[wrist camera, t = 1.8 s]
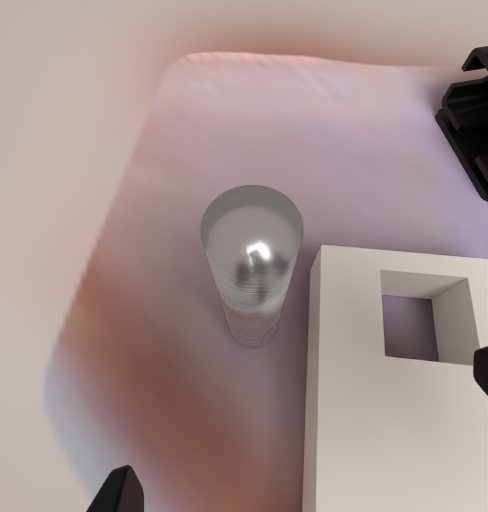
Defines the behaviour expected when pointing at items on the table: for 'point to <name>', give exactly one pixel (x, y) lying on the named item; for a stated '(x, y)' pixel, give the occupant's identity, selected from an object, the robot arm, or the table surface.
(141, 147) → the table surface
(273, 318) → the long pin
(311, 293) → the hole plate
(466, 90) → the end cap
